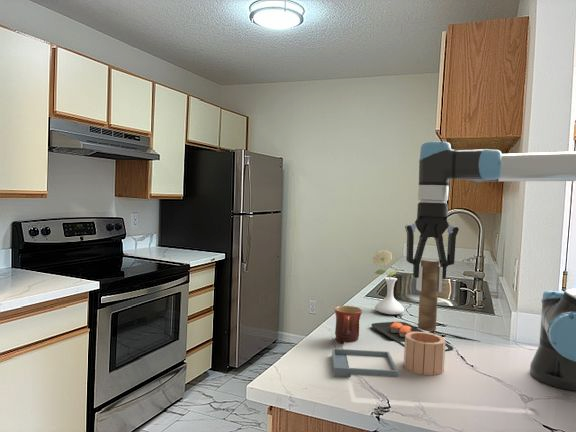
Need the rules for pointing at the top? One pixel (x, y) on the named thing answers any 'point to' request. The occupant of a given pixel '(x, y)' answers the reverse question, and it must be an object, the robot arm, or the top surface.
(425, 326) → the peg
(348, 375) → the tray
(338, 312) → the mug
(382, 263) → the flower in vase
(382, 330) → the sushi plate
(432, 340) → the cup
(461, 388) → the top surface
